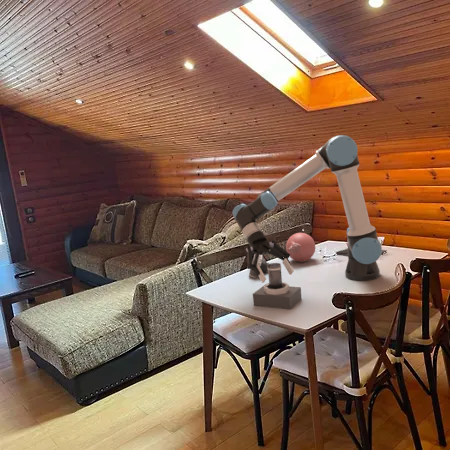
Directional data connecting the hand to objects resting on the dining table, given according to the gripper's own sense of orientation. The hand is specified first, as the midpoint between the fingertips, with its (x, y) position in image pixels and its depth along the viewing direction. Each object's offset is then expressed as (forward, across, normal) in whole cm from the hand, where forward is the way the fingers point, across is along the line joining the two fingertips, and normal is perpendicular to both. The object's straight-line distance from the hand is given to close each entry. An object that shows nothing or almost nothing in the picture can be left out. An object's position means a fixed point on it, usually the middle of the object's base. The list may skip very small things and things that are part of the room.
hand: (278, 276), depth 179 cm
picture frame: (-12, -75, -29) cm, 81 cm away
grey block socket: (+7, 0, -9) cm, 11 cm away
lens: (+3, 0, -6) cm, 7 cm away
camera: (-21, -18, -38) cm, 47 cm away
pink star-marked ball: (-21, -43, -38) cm, 61 cm away
